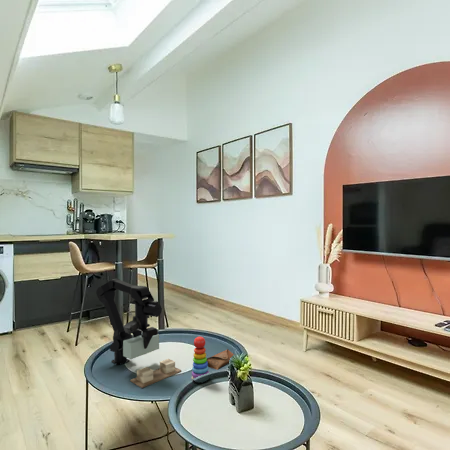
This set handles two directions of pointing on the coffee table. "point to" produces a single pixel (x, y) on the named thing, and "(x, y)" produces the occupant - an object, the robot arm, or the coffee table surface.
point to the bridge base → (155, 373)
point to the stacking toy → (199, 358)
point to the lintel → (139, 346)
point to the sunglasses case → (219, 359)
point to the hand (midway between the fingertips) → (141, 346)
